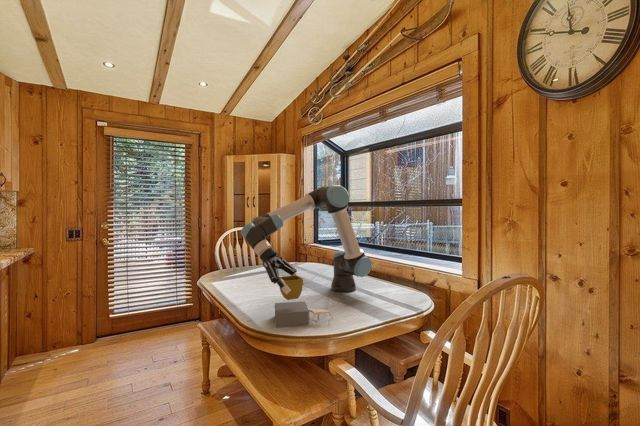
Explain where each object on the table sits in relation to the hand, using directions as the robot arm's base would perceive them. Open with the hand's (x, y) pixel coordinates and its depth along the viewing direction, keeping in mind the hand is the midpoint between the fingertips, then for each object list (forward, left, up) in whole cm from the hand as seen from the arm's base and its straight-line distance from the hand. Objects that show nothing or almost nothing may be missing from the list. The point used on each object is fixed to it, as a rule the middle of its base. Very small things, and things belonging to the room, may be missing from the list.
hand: (295, 288), depth 136 cm
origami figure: (-10, +3, -15) cm, 18 cm away
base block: (+2, -1, -14) cm, 14 cm away
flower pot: (+2, -1, -5) cm, 5 cm away
